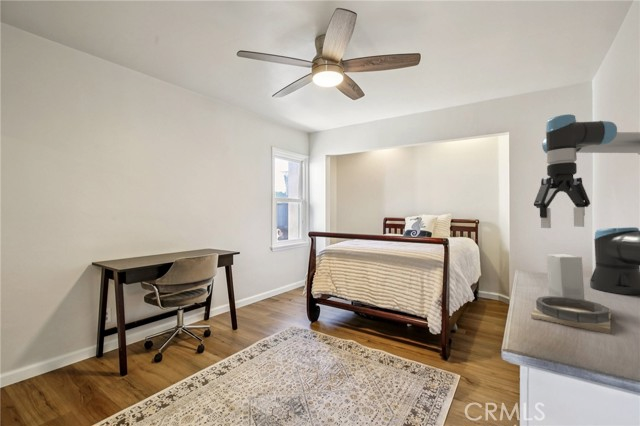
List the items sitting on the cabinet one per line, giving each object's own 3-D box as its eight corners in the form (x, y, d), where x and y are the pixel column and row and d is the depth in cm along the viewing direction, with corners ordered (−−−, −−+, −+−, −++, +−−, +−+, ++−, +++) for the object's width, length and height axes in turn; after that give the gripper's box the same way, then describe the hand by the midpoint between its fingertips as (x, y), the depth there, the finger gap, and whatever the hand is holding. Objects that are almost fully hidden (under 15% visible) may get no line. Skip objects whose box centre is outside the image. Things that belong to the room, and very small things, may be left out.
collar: (541, 304, 94) (540, 293, 94) (610, 316, 83) (610, 303, 83) (531, 318, 83) (531, 305, 83) (610, 333, 72) (609, 318, 72)
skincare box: (585, 306, 91) (584, 257, 91) (561, 305, 93) (560, 257, 93) (568, 298, 100) (567, 253, 100) (546, 297, 101) (545, 253, 101)
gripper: (579, 165, 102) (580, 225, 102) (519, 164, 97) (521, 227, 97) (603, 161, 95) (605, 226, 95) (541, 160, 90) (542, 229, 90)
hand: (562, 227), depth 96 cm, fingers open, 13 cm apart
